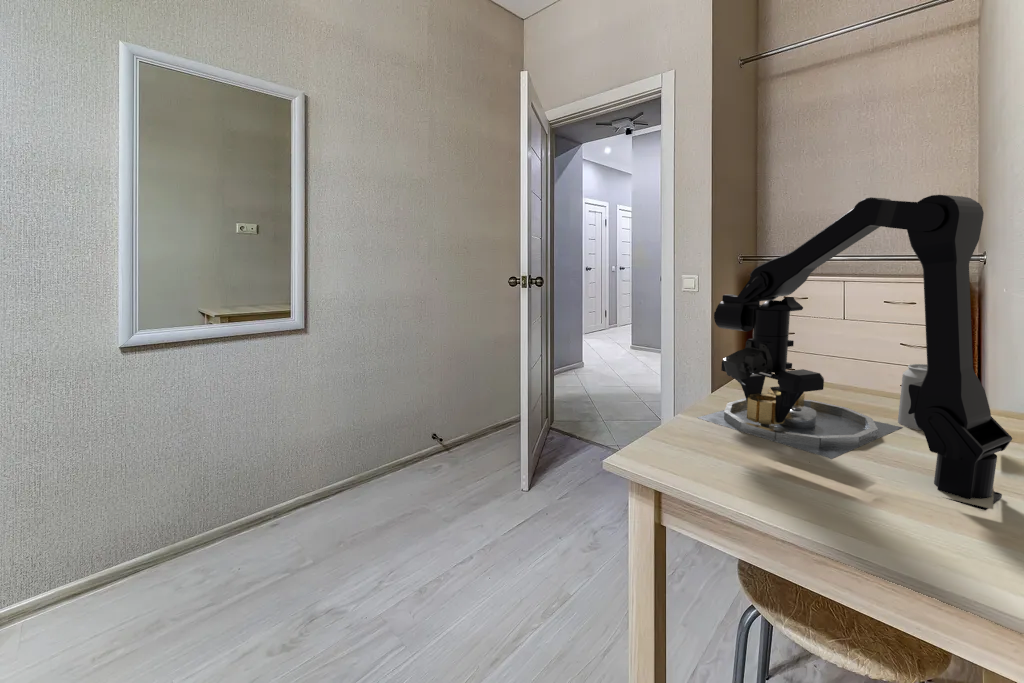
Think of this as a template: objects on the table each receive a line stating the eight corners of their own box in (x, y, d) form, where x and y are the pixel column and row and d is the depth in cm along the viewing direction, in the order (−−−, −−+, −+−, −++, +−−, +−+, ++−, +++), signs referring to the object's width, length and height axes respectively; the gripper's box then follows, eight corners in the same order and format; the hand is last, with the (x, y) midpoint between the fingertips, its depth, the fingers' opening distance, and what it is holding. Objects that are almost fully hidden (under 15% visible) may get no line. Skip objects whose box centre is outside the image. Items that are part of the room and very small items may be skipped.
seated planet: (791, 418, 95) (792, 398, 94) (761, 410, 100) (762, 391, 99) (808, 412, 98) (810, 393, 97) (778, 405, 103) (779, 386, 102)
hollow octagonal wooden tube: (792, 422, 88) (794, 400, 87) (764, 426, 86) (765, 404, 86) (766, 412, 94) (767, 392, 93) (739, 415, 92) (740, 395, 92)
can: (960, 438, 85) (969, 371, 83) (911, 436, 86) (919, 370, 84) (933, 424, 92) (940, 362, 90) (888, 422, 94) (894, 362, 92)
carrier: (831, 464, 75) (833, 437, 75) (696, 422, 97) (697, 400, 96) (902, 432, 88) (904, 408, 87) (769, 401, 109) (770, 382, 109)
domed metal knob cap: (803, 430, 88) (804, 416, 87) (768, 421, 93) (769, 407, 93) (822, 423, 91) (823, 409, 91) (787, 414, 97) (788, 401, 96)
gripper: (699, 330, 94) (696, 407, 97) (773, 345, 77) (768, 439, 79) (747, 327, 97) (743, 402, 100) (829, 340, 79) (822, 431, 82)
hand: (765, 417), depth 90 cm, fingers closed on hollow octagonal wooden tube, 6 cm apart
